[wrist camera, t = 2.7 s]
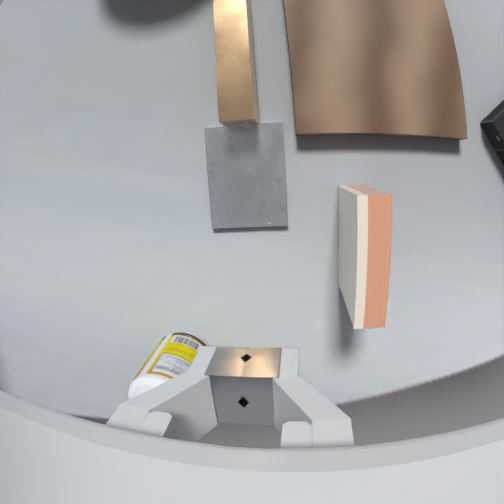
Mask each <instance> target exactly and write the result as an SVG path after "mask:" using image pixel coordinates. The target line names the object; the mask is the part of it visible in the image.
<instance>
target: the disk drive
mask: <svg viewBox="0 0 504 504" xmlns="http://www.w3.org/2000/svg"><path fill="white" fill-rule="evenodd" d="M480 125H481V126H482V128H483V130H484V131H485V133H486V134H487V137H488V139H489V140H490V142H491V144H492V146H493V147H494V149H495V150H496V151H497V154H498V155H499V157H500V159H501V161H502V162H503V165H504V100H503V101H502V102H501V103H500V104H499V105H498V106H497V107H496V108H495V109H494V110H493V111H492V112H491V113H490V114H489V115H488V116H487V117H486V118H484V119H483V120H482V121H481V122H480Z"/></svg>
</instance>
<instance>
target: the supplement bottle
mask: <svg viewBox="0 0 504 504" xmlns="http://www.w3.org/2000/svg"><path fill="white" fill-rule="evenodd" d="M201 346H208V344H207V343H206V342H205V341H204V340H203V339H202V338H200V337H199V336H197V335H195V334H193V333H190V332H186V331H176V332H172V333H169V334H168V335H166V336H165V337H164V338H163V339H162V340H161V341H160V343H159V344H158V346H157V347H156V349H155V350H154V351H153V353H152V354H151V355H150V357H149V358H148V360H147V361H146V363H145V364H144V365H143V367H142V368H141V370H140V371H139V372H138V374H137V375H136V377H135V378H134V380H133V381H132V383H131V384H130V386H129V390H128V397H129V399H131V398H133V397H135V396H138V395H140V394H142V393H144V392H146V391H148V390H150V389H152V388H154V387H156V386H158V385H160V384H162V383H164V382H166V381H168V380H170V379H172V378H174V377H176V376H178V375H180V374H186V373H187V371H188V369H189V367H190V366H191V364H192V362H193V360H194V358H195V356H196V354H197V353H198V351H199V349H200V347H201Z"/></svg>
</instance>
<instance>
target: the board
mask: <svg viewBox="0 0 504 504" xmlns="http://www.w3.org/2000/svg"><path fill="white" fill-rule="evenodd" d="M283 2H284V10H285V18H286V27H287V36H288V45H289V55H290V65H291V75H292V86H293V98H294V110H295V123H296V135H336V134H359V135H398V136H417V137H432V138H445V139H456V140H463V139H467V126H466V114H465V105H464V96H463V89H462V82H461V75H460V69H459V64H458V58H457V53H456V48H455V43H454V39H453V34H452V30H451V26H450V22H449V18H448V14H447V10H446V7H445V3H444V0H283Z"/></svg>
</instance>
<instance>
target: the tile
mask: <svg viewBox="0 0 504 504" xmlns="http://www.w3.org/2000/svg"><path fill="white" fill-rule="evenodd" d="M338 214H339V280H338V283H339V286H340V289H341V292H342V295H343V298H344V301H345V304H346V307H347V310H348V313H349V316H350V319H351V322H352V325H353V328H354V329H364V328H379V327H385V320H386V311H387V300H388V288H389V274H390V257H391V230H392V195H390V194H387V193H384V192H381V191H378V190H375V189H372V188H369V187H367V186H364V185H338Z"/></svg>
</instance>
